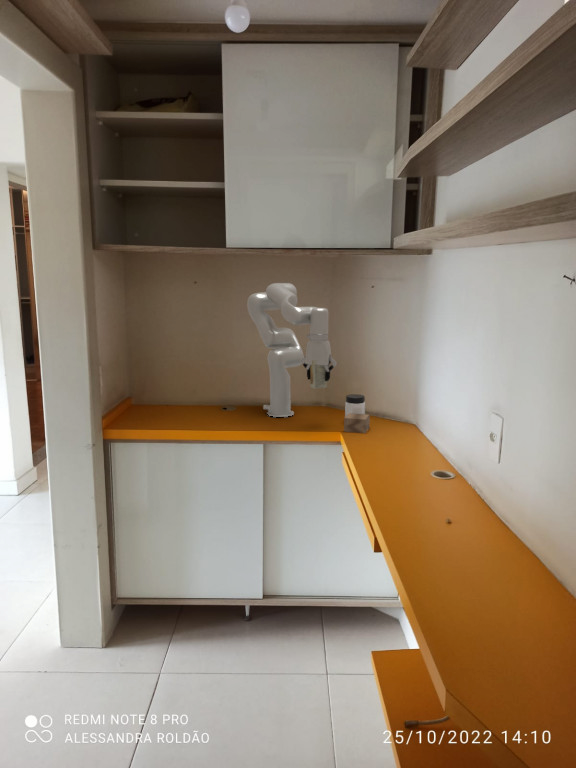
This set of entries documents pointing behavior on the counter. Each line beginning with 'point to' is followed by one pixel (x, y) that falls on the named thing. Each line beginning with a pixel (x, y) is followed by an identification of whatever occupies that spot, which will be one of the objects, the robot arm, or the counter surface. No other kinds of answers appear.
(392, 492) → the counter surface
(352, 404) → the jar
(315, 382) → the skincare box
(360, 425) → the brown square block
